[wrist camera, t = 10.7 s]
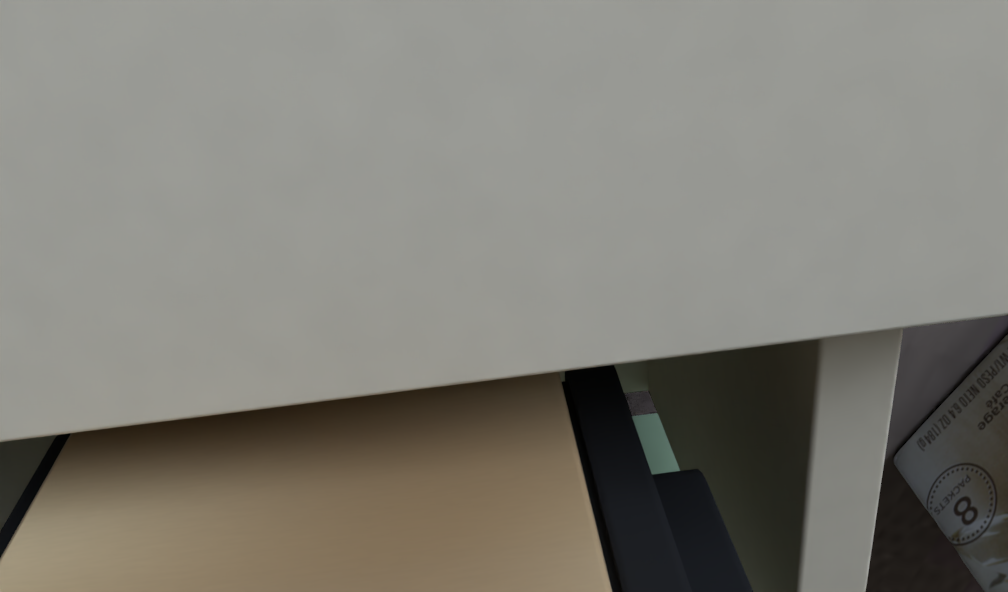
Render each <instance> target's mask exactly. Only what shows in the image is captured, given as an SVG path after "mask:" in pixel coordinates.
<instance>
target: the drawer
mask: <svg viewBox="0 0 1008 592" xmlns="http://www.w3.org/2000/svg"><path fill="white" fill-rule="evenodd" d="M902 334H903V328H902V329H894V330H886V331H878V332H870V333H862V334H854V335H847V336H839V337H831V338H823V339H815V340H807V341H799V342H791V343H783V344H775V345H767V346H759V347H751V348H743V349H735V350H727V351H719V352H712V353H704V354H696V355H688V356H680V357H672V358H664V359H656V360H648V361H640V362H632V363H624V364H616V365H614V366H615V368H616V371H617V374H618V377H619V380H620V383H621V386H622V389H623V392H624V393H631V392H639V391H647V390H649V393H650V395H651V398H652V400H653V403H654V405H655V408H656V410H657V413H653V414H645V415H638V416H632V418H633V421H634V424H635V427H636V430H637V432H638V435H639V438H640V441H641V444H642V447H643V450H644V453H645V456H646V459H647V462H648V464H649V467H650V470H651V473H652V474H660V473H668V472H675V471H683V470H691V469H699V470H700V471H701V472H702V473H703V475H704V477H705V479H706V481H707V483H708V485H709V488H710V490H711V492H712V495H713V497H714V499H715V502H716V504H717V507H718V509H719V511H720V514H721V516H722V518H723V521H724V523H725V526H726V528H727V530H728V533H729V535H730V537H731V540H732V542H733V545H734V547H735V549H736V552H737V554H738V556H739V559H740V561H741V563H742V566H743V568H744V571H745V573H746V575H747V578H748V580H749V582H750V585H751V587H752V590H753V592H866V586H867V579H868V572H869V565H870V558H871V551H872V544H873V537H874V530H875V523H876V516H877V509H878V502H879V495H880V488H881V481H882V474H883V467H884V460H885V453H886V446H887V439H888V432H889V425H890V418H891V411H892V404H893V397H894V390H895V383H896V376H897V369H898V362H899V355H900V348H901V341H902ZM559 374H560V378H561V382H563V381H565V371H561V372H559ZM56 436H57V435H52V436H44V437H36V438H28V439H20V440H12V441H5V442H0V531H1V529H2V527H3V526H4V524H5V522H6V520H7V519H8V517H9V515H10V514H11V512H12V510H13V509H14V507H15V505H16V503H17V502H18V500H19V498H20V497H21V495H22V493H23V492H24V490H25V488H26V486H27V485H28V483H29V481H30V480H31V478H32V476H33V474H34V473H35V471H36V469H37V468H38V466H39V464H40V463H41V461H42V459H43V457H44V456H45V454H46V452H47V451H48V449H49V447H50V446H51V444H52V442H53V440H54V439H55V438H56Z"/></svg>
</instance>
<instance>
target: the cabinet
mask: <svg viewBox="0 0 1008 592" xmlns="http://www.w3.org/2000/svg"><path fill="white" fill-rule="evenodd" d="M1005 315H1008V0H0V442H5V441H12V440H20V439H28V438H36V437H44V436H52V435H60V434H68V433H76V432H84V431H92V430H100V429H108V428H116V427H124V426H132V425H140V424H148V423H155V422H163V421H171V420H179V419H187V418H195V417H203V416H211V415H219V414H227V413H235V412H243V411H251V410H259V409H267V408H275V407H283V406H290V405H298V404H306V403H314V402H322V401H330V400H338V399H346V398H354V397H362V396H370V395H378V394H386V393H394V392H402V391H410V390H418V389H426V388H433V387H441V386H449V385H457V384H465V383H473V382H481V381H489V380H497V379H505V378H513V377H521V376H529V375H537V374H545V373H553V372H561V371H569V370H576V369H584V368H592V367H600V366H608V365H616V364H624V363H632V362H640V361H648V360H656V359H664V358H672V357H680V356H688V355H696V354H704V353H712V352H719V351H727V350H735V349H743V348H751V347H759V346H767V345H775V344H783V343H791V342H799V341H807V340H815V339H823V338H831V337H839V336H847V335H854V334H862V333H870V332H878V331H886V330H894V329H902V328H910V327H918V326H926V325H934V324H942V323H950V322H958V321H966V320H974V319H982V318H990V317H997V316H1005Z"/></svg>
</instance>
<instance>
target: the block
mask: <svg viewBox="0 0 1008 592" xmlns="http://www.w3.org/2000/svg"><path fill="white" fill-rule="evenodd" d="M0 592H612V588H611V583H610V579H609V575H608V571H607V567H606V563H605V559H604V555H603V550H602V546H601V542H600V538H599V534H598V530H597V526H596V522H595V518H594V513H593V509H592V505H591V501H590V497H589V493H588V489H587V485H586V481H585V476H584V472H583V468H582V464H581V460H580V456H579V452H578V448H577V443H576V439H575V435H574V431H573V427H572V423H571V419H570V415H569V411H568V406H567V402H566V398H565V394H564V390H563V386H562V382H561V378H560V374H559V372H553V373H545V374H537V375H529V376H521V377H513V378H505V379H497V380H489V381H481V382H473V383H465V384H457V385H449V386H441V387H433V388H426V389H418V390H410V391H402V392H394V393H386V394H378V395H370V396H362V397H354V398H346V399H338V400H330V401H322V402H314V403H306V404H298V405H290V406H283V407H275V408H267V409H259V410H251V411H243V412H235V413H227V414H219V415H211V416H203V417H195V418H187V419H179V420H171V421H163V422H155V423H148V424H140V425H132V426H124V427H116V428H108V429H100V430H92V431H84V432H76V433H71V434H70V436H69V438H68V439H67V441H66V443H65V445H64V446H63V448H62V450H61V452H60V454H59V455H58V457H57V459H56V461H55V462H54V464H53V466H52V468H51V469H50V471H49V473H48V475H47V477H46V478H45V480H44V482H43V484H42V485H41V487H40V489H39V491H38V492H37V494H36V496H35V498H34V500H33V501H32V503H31V505H30V507H29V508H28V510H27V512H26V514H25V515H24V517H23V519H22V521H21V523H20V524H19V526H18V528H17V530H16V531H15V533H14V535H13V537H12V538H11V540H10V542H9V544H8V545H7V547H6V549H5V551H4V553H3V554H2V556H1V558H0Z"/></svg>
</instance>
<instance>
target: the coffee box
mask: <svg viewBox="0 0 1008 592" xmlns="http://www.w3.org/2000/svg"><path fill="white" fill-rule="evenodd" d="M894 464H895V466H896V467H897V469H898V470H899V472H900V473H901V474H902V476H903V477H904V479H905V480H906V481H907V483H908V484H909V486H910V487H911V488H912V490H913V491H914V493H915V494H916V496H917V497H918V499H919V500H920V501H921V503H922V504H923V505H924V507H925V508H926V509H927V511H928V512H929V513H930V515H931V516H932V517H933V519H934V520H935V521H936V523H937V524H938V526H939V528H940V529H941V530H942V532H943V533H944V534H945V536H946V537H947V538H948V539H949V541H950V542H951V543H952V545H953V546H954V547H955V549H956V550H957V552H958V553H959V555H960V557H961V558H962V560H963V562H964V563H965V564H966V566H967V567H968V568H969V570H970V572H971V573H972V575H973V576H974V578H975V579H976V580H977V582H978V583H979V584H980V586H981V587H982V589H983V590H984V591H985V592H1008V334H1007V335H1006V336H1005V337H1004V339H1003V340H1002V341H1001V342H1000V343H999V344H998V345H997V346H996V347H995V348H994V349H993V350H992V351H991V352H990V353H989V354H988V356H987V357H986V358H985V359H984V360H983V361H982V362H981V363H980V364H979V365H978V366H977V367H976V368H975V369H974V370H973V371H972V372H971V373H970V374H969V376H968V377H967V378H966V379H965V380H964V381H963V382H962V383H961V384H960V385H959V386H958V387H957V388H956V389H955V390H954V392H953V393H952V394H951V395H950V396H949V397H948V398H947V399H946V400H945V401H944V402H943V403H942V404H941V405H940V406H939V408H938V409H937V410H936V411H935V412H934V413H933V414H932V415H931V416H930V417H929V418H928V419H927V420H926V421H925V423H924V424H923V425H922V426H921V427H920V428H919V429H918V430H917V431H916V432H915V433H914V434H913V436H912V437H911V438H910V439H909V440H908V441H907V442H906V443H905V444H904V445H903V447H902V448H901V449H900V450H899V451H898V452H897V454H896V455H895V457H894Z"/></svg>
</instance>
